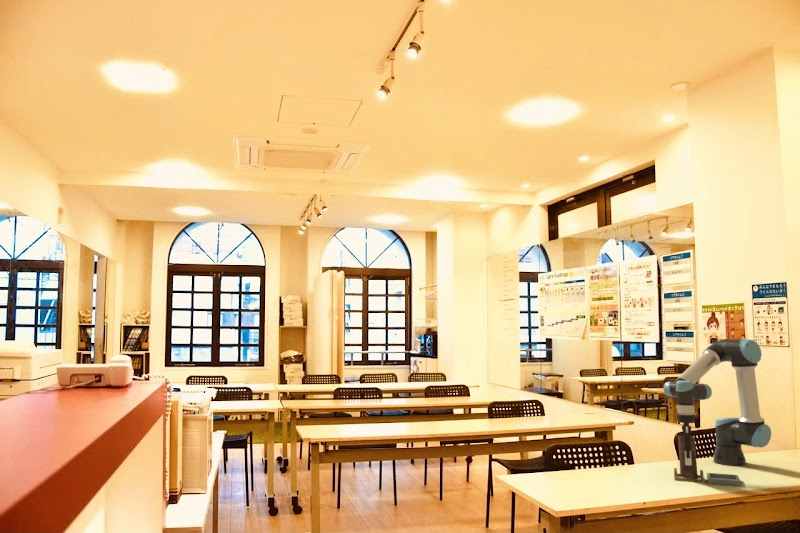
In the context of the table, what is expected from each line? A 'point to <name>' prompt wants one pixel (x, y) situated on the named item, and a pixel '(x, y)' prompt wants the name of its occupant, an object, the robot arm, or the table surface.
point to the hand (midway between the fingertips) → (688, 463)
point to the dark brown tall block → (685, 470)
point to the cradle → (687, 478)
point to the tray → (723, 479)
